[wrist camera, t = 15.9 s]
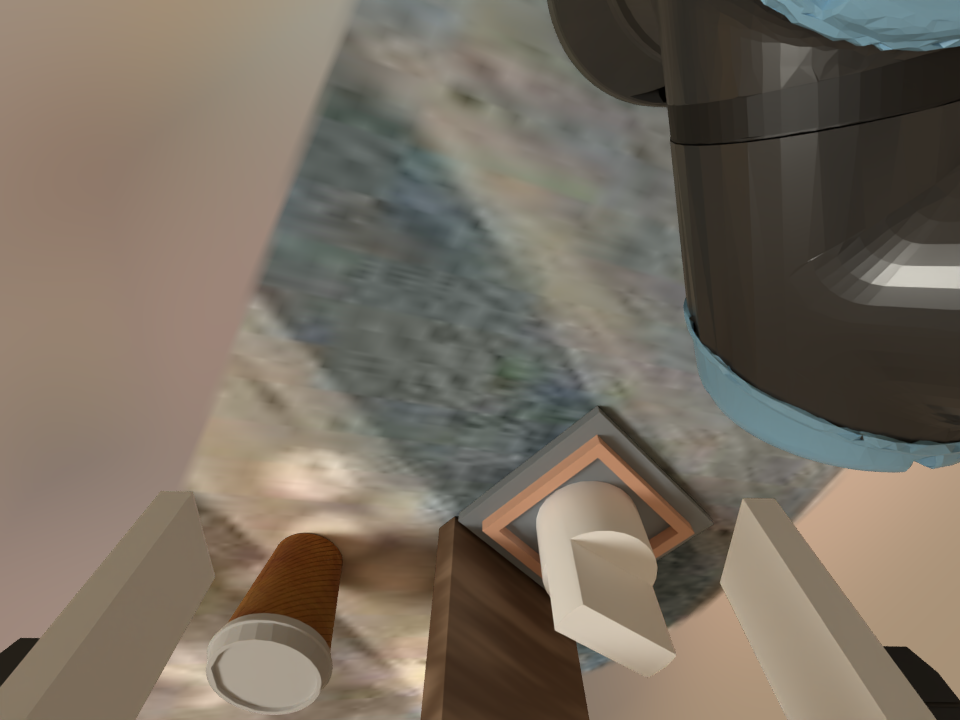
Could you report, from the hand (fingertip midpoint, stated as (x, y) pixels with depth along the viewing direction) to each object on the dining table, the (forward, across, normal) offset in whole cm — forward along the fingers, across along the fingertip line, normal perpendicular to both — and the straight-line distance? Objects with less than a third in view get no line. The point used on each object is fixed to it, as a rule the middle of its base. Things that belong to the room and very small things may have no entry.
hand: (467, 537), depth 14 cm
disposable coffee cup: (+29, -16, -30) cm, 44 cm away
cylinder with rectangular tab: (+28, +10, -24) cm, 38 cm away
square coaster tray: (+29, +10, -24) cm, 39 cm away
